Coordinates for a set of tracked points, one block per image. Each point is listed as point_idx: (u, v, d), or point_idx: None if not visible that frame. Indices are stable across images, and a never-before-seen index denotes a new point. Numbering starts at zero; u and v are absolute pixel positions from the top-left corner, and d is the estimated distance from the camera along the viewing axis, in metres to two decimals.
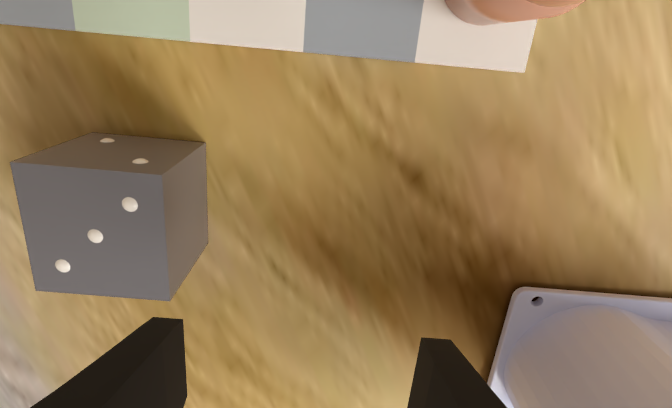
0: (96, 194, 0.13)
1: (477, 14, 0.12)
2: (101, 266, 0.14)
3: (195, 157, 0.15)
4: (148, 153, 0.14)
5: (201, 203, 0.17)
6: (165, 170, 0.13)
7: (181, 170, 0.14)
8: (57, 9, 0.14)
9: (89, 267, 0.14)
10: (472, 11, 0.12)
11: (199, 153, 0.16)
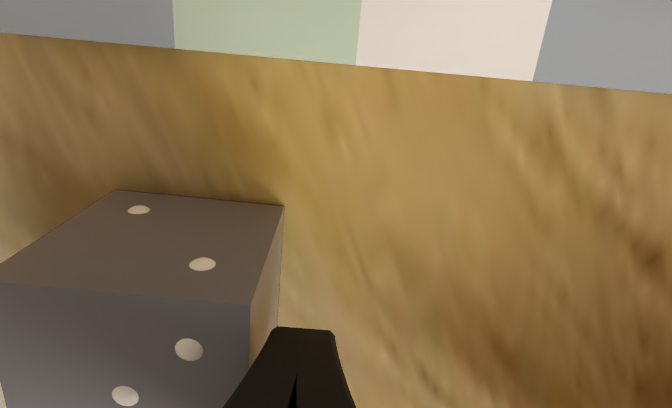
0: (130, 334, 0.07)
1: None
2: None
3: (276, 237, 0.10)
4: (209, 239, 0.09)
5: (275, 299, 0.11)
6: (252, 289, 0.07)
7: (265, 272, 0.09)
8: (149, 14, 0.09)
9: None
10: None
11: (279, 228, 0.10)
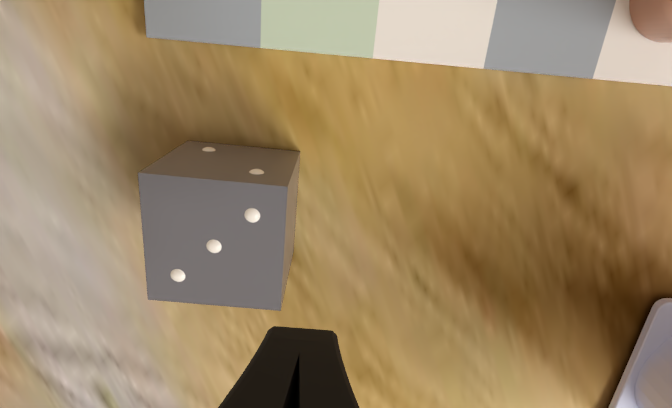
0: (220, 205, 0.13)
1: None
2: (216, 275, 0.14)
3: (296, 166, 0.16)
4: (257, 163, 0.15)
5: (294, 212, 0.17)
6: (287, 181, 0.13)
7: (292, 180, 0.14)
8: (246, 26, 0.14)
9: (204, 276, 0.14)
10: None
11: (297, 162, 0.16)
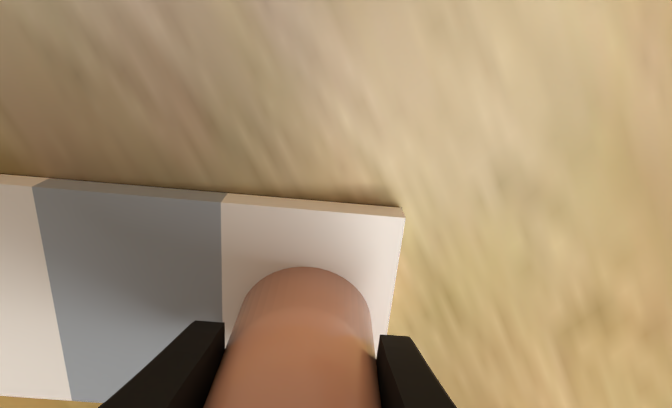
0: None
1: None
2: None
3: None
4: None
5: None
6: None
7: None
8: None
9: None
10: None
11: None
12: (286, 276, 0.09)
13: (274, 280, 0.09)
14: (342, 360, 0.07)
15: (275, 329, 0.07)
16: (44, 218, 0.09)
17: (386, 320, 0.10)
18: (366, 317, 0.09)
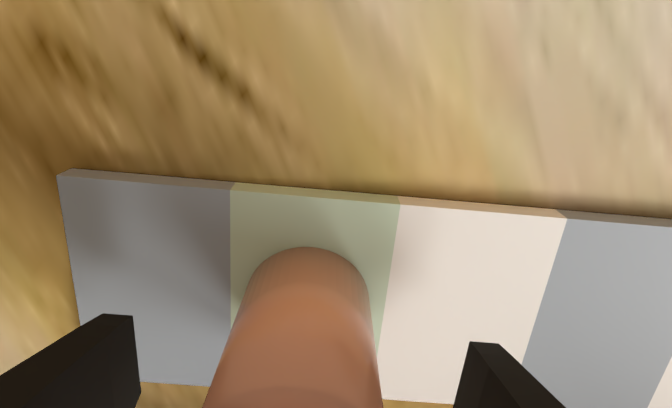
0: None
1: None
2: None
3: None
4: None
5: None
6: None
7: None
8: (212, 368, 0.12)
9: None
10: None
11: None
12: (290, 255, 0.10)
13: (278, 259, 0.10)
14: (342, 326, 0.08)
15: (281, 299, 0.08)
16: (564, 246, 0.10)
17: None
18: (364, 293, 0.10)
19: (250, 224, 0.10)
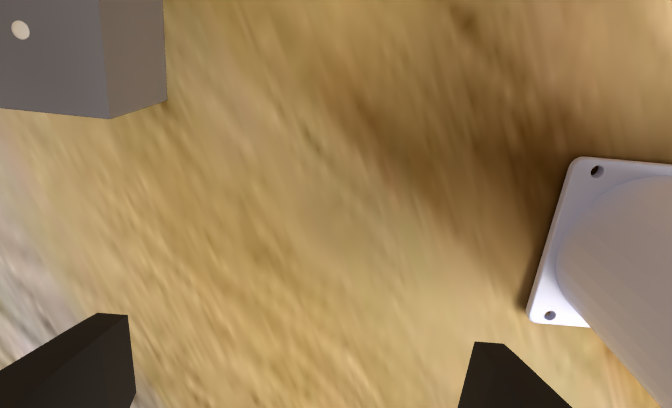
0: None
1: None
2: (29, 70, 0.12)
3: None
4: None
5: (155, 41, 0.15)
6: None
7: None
8: None
9: (16, 72, 0.12)
10: None
11: None
12: None
13: None
14: None
15: None
16: None
17: None
18: None
19: None
